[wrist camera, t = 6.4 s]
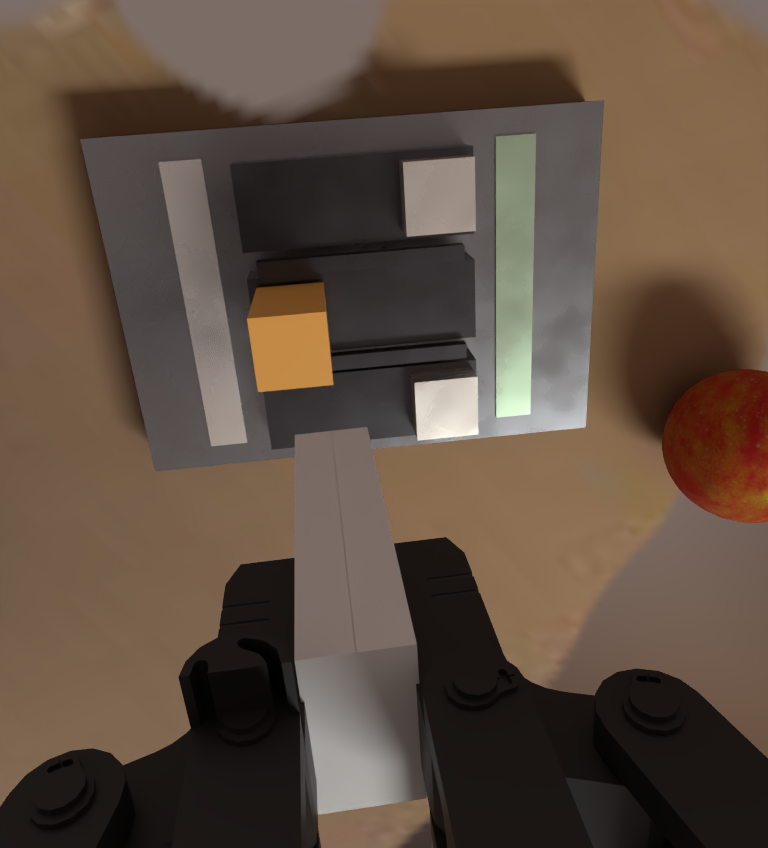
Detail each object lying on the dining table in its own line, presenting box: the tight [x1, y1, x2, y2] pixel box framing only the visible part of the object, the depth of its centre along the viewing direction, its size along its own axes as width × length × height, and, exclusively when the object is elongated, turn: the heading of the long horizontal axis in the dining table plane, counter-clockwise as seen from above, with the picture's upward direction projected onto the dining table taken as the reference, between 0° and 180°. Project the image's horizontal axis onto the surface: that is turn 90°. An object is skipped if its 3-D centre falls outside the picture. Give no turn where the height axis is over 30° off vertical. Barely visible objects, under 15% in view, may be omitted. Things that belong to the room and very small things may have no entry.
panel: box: [80, 101, 604, 471], centre depth 29 cm, size 20×14×5 cm
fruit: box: [662, 369, 768, 523], centre depth 32 cm, size 7×7×8 cm
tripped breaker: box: [247, 282, 333, 392], centre depth 26 cm, size 3×3×4 cm
